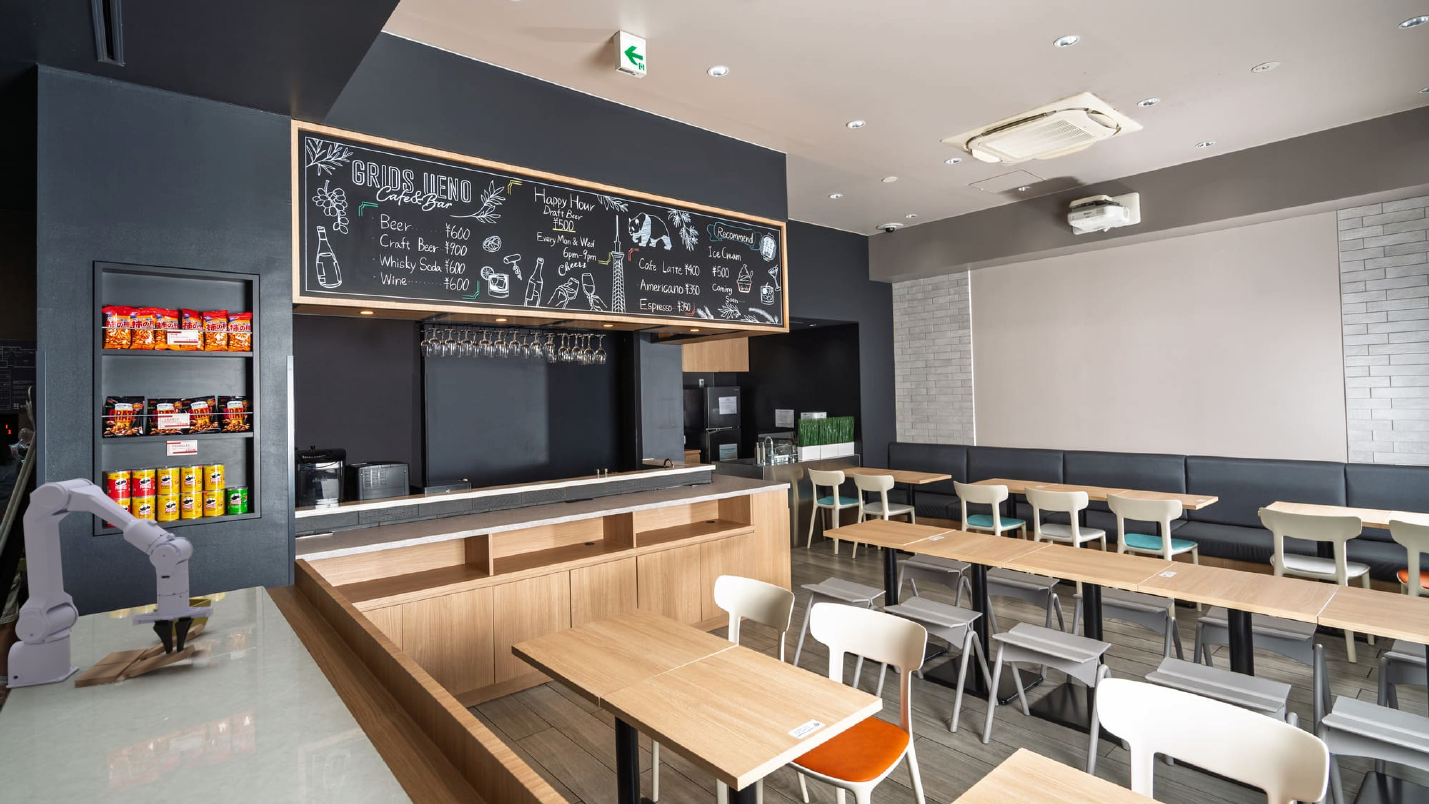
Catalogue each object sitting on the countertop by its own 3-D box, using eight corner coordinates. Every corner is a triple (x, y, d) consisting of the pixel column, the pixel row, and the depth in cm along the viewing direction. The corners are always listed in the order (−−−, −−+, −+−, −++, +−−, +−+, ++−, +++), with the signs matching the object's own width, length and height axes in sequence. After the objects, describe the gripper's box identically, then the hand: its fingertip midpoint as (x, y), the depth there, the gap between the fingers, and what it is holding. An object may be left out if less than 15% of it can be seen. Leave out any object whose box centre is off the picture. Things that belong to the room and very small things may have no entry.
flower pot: (186, 644, 173) (186, 608, 173) (152, 644, 173) (152, 608, 173) (212, 632, 181) (212, 598, 181) (180, 632, 182) (180, 598, 182)
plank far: (141, 663, 159) (138, 657, 159) (151, 654, 165) (148, 649, 165) (196, 635, 163) (193, 630, 163) (204, 628, 169) (201, 622, 169)
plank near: (124, 679, 150) (121, 672, 150) (135, 669, 156) (132, 663, 155) (186, 658, 154) (184, 652, 154) (195, 649, 160) (193, 643, 160)
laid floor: (74, 687, 146) (74, 680, 146) (111, 658, 163) (111, 652, 163) (122, 681, 149) (122, 674, 149) (153, 653, 166) (153, 647, 166)
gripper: (126, 601, 149) (127, 663, 150) (206, 592, 155) (207, 652, 155) (138, 593, 156) (140, 652, 156) (215, 585, 162) (216, 642, 162)
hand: (174, 651), depth 156 cm, fingers closed
